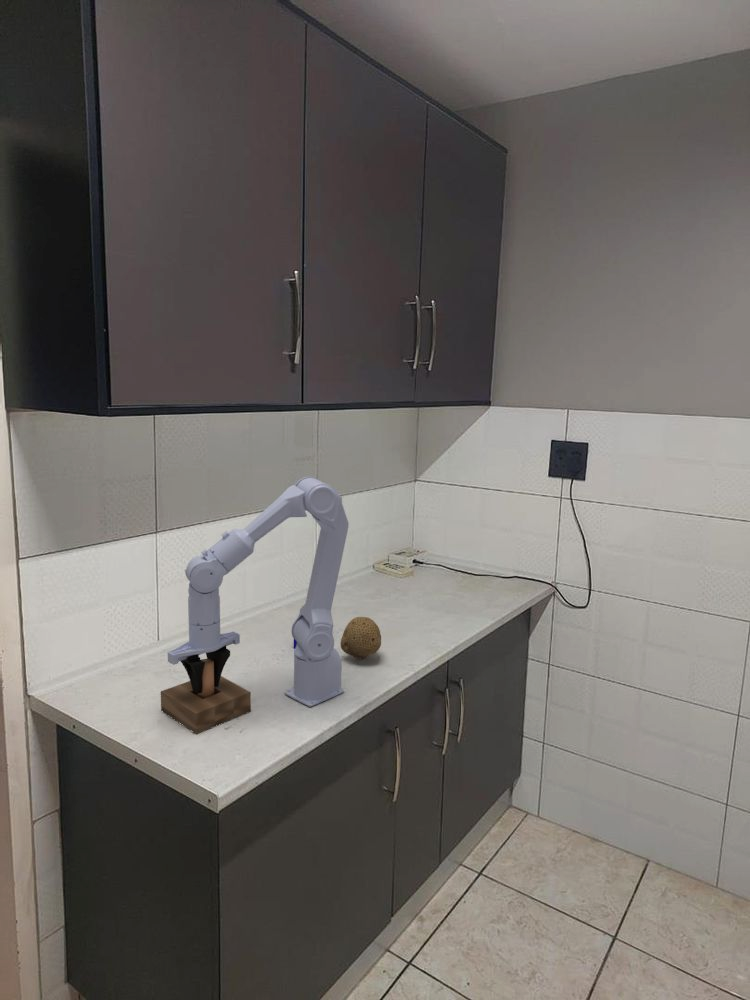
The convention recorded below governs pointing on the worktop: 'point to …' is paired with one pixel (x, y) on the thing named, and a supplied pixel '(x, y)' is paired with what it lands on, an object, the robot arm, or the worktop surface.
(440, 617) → the worktop surface
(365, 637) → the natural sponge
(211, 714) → the walnut socket block
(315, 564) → the robot arm
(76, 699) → the worktop surface
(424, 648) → the worktop surface
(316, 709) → the worktop surface
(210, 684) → the terracotta peg
